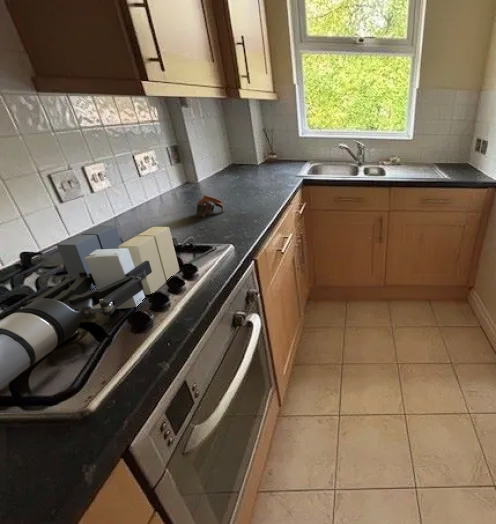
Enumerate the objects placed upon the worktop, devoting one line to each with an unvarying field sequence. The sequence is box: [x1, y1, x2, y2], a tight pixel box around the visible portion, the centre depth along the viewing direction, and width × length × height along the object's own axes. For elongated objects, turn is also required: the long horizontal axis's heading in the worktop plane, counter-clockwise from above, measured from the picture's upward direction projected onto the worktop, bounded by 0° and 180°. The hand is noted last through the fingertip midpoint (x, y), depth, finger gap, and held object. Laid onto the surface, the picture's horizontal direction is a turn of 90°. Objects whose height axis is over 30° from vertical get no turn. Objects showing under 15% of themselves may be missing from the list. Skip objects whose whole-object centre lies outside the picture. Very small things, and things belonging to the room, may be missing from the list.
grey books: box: [56, 224, 123, 292], centre depth 78 cm, size 4×12×12 cm, turn 0°
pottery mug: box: [196, 195, 224, 218], centre depth 130 cm, size 12×10×8 cm
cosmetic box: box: [85, 248, 146, 310], centre depth 67 cm, size 6×4×12 cm
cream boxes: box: [118, 226, 180, 296], centre depth 78 cm, size 4×12×12 cm, turn 0°
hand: (132, 266), depth 72 cm, fingers closed on cosmetic box, 6 cm apart
